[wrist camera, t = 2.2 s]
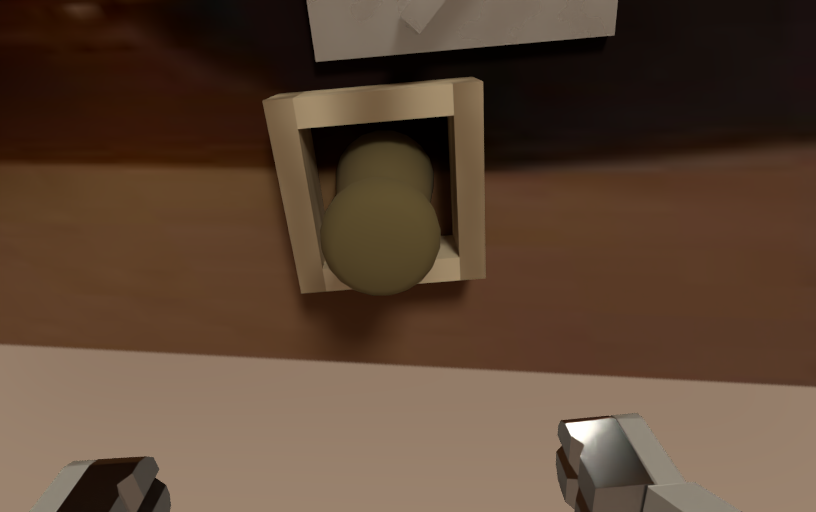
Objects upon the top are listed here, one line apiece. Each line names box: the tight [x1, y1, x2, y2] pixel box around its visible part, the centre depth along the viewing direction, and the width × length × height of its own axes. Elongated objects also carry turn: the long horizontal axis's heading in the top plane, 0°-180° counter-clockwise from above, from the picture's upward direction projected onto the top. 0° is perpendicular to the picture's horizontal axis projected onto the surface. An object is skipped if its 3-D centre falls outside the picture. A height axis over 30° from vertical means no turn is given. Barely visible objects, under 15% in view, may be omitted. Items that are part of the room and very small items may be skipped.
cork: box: [320, 130, 441, 296], centre depth 24 cm, size 6×6×11 cm
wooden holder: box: [263, 77, 486, 294], centre depth 27 cm, size 11×11×4 cm
